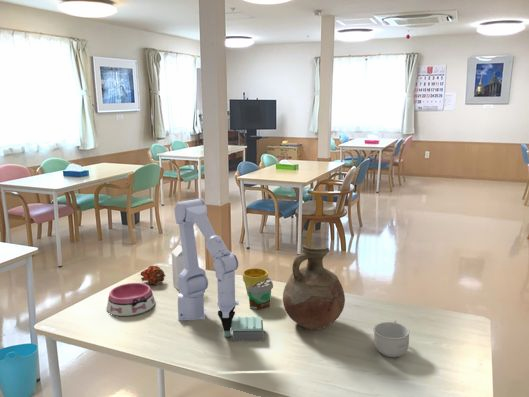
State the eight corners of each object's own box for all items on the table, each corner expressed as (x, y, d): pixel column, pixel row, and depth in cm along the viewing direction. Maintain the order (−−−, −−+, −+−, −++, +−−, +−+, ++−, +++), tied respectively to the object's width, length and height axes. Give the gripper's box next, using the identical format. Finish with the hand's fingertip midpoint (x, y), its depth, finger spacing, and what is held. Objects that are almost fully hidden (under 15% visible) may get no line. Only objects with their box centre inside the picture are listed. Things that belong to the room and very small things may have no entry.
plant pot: (267, 300, 181) (267, 277, 179) (242, 299, 181) (241, 277, 179) (268, 289, 191) (268, 267, 189) (243, 289, 191) (243, 267, 189)
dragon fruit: (165, 289, 195) (142, 288, 200) (172, 272, 201) (150, 272, 206) (155, 278, 190) (132, 278, 195) (162, 261, 195) (140, 262, 200)
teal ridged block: (223, 340, 148) (223, 325, 147) (225, 328, 156) (224, 313, 155) (261, 339, 149) (261, 324, 148) (261, 327, 157) (260, 313, 155)
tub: (233, 343, 149) (232, 332, 148) (233, 331, 157) (233, 320, 156) (263, 342, 149) (263, 331, 148) (262, 330, 157) (262, 319, 156)
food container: (260, 315, 168) (260, 290, 166) (247, 311, 172) (247, 286, 169) (279, 303, 177) (279, 280, 175) (266, 299, 181) (266, 276, 179)
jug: (355, 324, 161) (359, 244, 155) (319, 348, 145) (321, 260, 139) (307, 306, 175) (308, 232, 169) (269, 326, 160) (270, 245, 154)
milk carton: (177, 290, 190) (175, 247, 186) (173, 284, 196) (171, 243, 192) (194, 287, 193) (192, 245, 189) (188, 281, 200) (187, 240, 196)
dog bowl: (116, 322, 163) (115, 305, 162) (99, 304, 178) (98, 288, 176) (163, 308, 175) (162, 291, 173) (143, 292, 189) (142, 277, 187)
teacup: (402, 365, 136) (404, 341, 134) (367, 355, 142) (369, 331, 140) (414, 344, 148) (416, 322, 146) (381, 335, 153) (383, 314, 151)
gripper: (238, 299, 142) (238, 338, 145) (238, 281, 156) (239, 317, 159) (215, 299, 142) (216, 339, 145) (218, 281, 156) (219, 317, 159)
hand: (227, 327), depth 152 cm, fingers closed on teal ridged block, 3 cm apart
